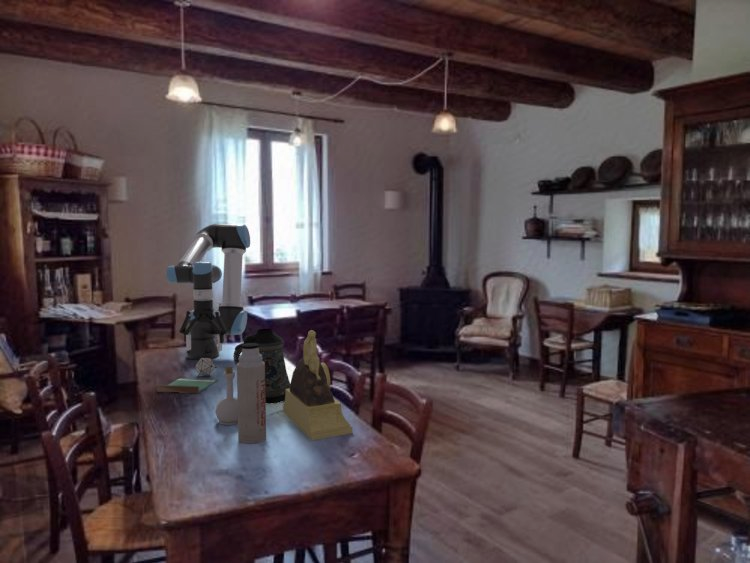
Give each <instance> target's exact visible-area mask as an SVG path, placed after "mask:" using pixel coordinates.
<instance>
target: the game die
mask: <svg viewBox="0 0 750 563" xmlns="http://www.w3.org/2000/svg"><path fill="white" fill-rule="evenodd" d="M200 358H201V356H200ZM193 367H195V369H196V371H197V373H198V375H197V377H199V376H208V377H209V378H211V374H212V373H213V371H214V370H215V369H217V368H218V367H217V366H216V365H215V363H214V361H213V358H212V357H211V358H201V359H198V361H197V363H195V364H193Z"/></svg>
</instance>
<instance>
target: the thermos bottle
mask: <svg viewBox="0 0 750 563" xmlns="http://www.w3.org/2000/svg"><path fill="white" fill-rule="evenodd" d="M258 347H259V344H257V343H246V344H242V345H241V348H242V352H241V354H240V356H239V358H238V359H239V363H237V366H236V389H237V390H236V393H237V394H236V395H237V396H236V398H237V404H238V423H237V434H238V435H237V436H238V437H237V439H238V441H239V442H240V443H243V444H250V445H251V444H257V443H261V442H264V441H265V440H266V438H267V409H266V408H267V406H266V405H267V404H266V398H265V363H264V362H263V361H262V359H263V358H262V355H261V354H260V353H259V348H258Z"/></svg>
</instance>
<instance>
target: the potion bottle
mask: <svg viewBox="0 0 750 563" xmlns="http://www.w3.org/2000/svg"><path fill="white" fill-rule="evenodd" d="M224 370H225V371H224V372H223V373H222V374H223V378H224V379H225V389H226V392H225V394H226V395H225V398H222V399H221V400H219V402H218V403H217V405H216V408H215V411H214V412H215V414H216V418H217V420H218V422H220V423H219V424H220V425H222V424H223V425H224V426H233V424H235V425H238V404H237V397H234V379H235V377H236V371H235V370H234V367H233V366H227V367H225V368H224Z"/></svg>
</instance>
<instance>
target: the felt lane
mask: <svg viewBox="0 0 750 563" xmlns="http://www.w3.org/2000/svg"><path fill="white" fill-rule="evenodd" d="M217 380H218V379H216V378H215V379H213V378H212V379H211V378H192V377H191V378H187V377H186V378H185V377H180V378H178V379H176V380H174V381H173V382H171V383H169V384H168V385H176V386H199V393H200V392H203V391H204V390H205V389H207V388H209V387H210V386H212V385H213V384H215V383H217V382H218V381H217ZM214 382H215V383H214Z"/></svg>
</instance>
